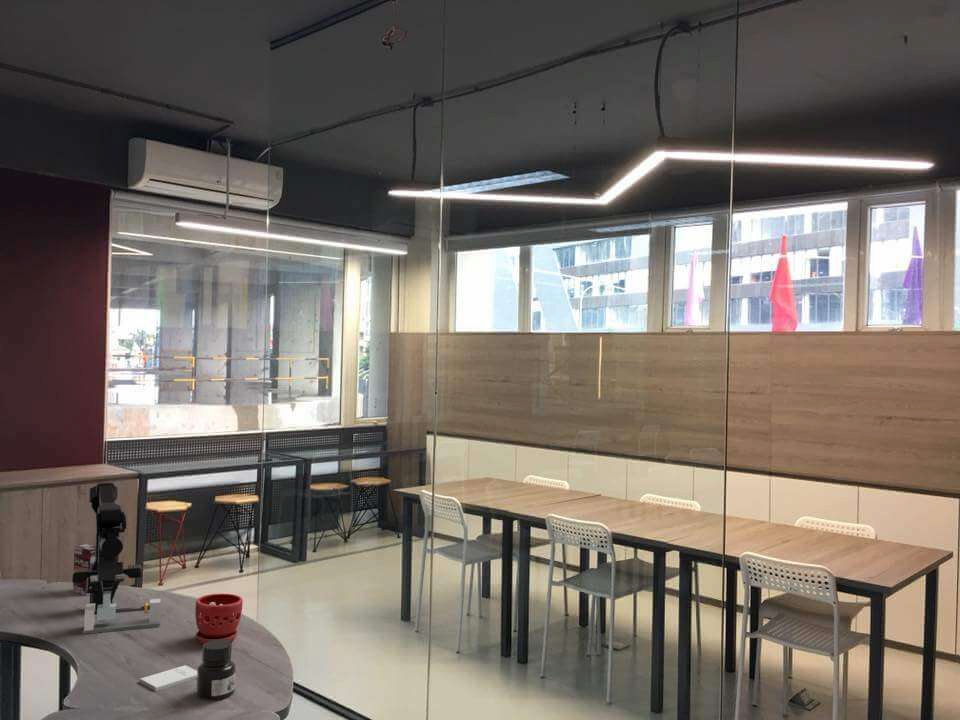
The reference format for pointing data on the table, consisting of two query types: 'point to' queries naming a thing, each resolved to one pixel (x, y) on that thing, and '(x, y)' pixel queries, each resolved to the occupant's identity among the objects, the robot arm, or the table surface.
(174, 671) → the external hard drive
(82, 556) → the supplement box
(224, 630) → the plant pot
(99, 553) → the robot arm
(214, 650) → the ink bottle
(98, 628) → the grey slide rail
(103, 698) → the table surface
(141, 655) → the table surface
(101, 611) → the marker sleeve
